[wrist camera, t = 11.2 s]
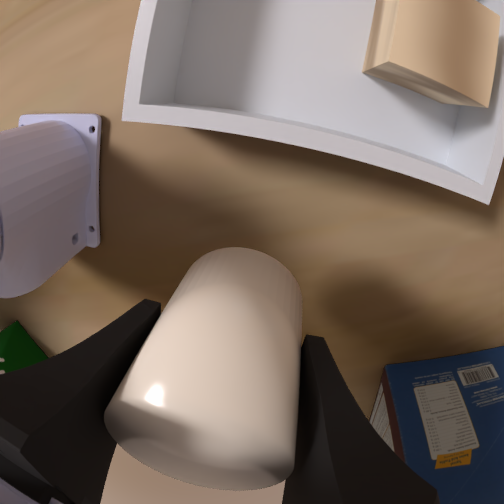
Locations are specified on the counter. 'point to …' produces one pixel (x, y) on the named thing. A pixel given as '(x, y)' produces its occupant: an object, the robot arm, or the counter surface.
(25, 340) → the milk carton
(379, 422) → the protein box
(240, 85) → the box
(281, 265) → the cream cylinder
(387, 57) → the maple cube
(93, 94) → the counter surface
